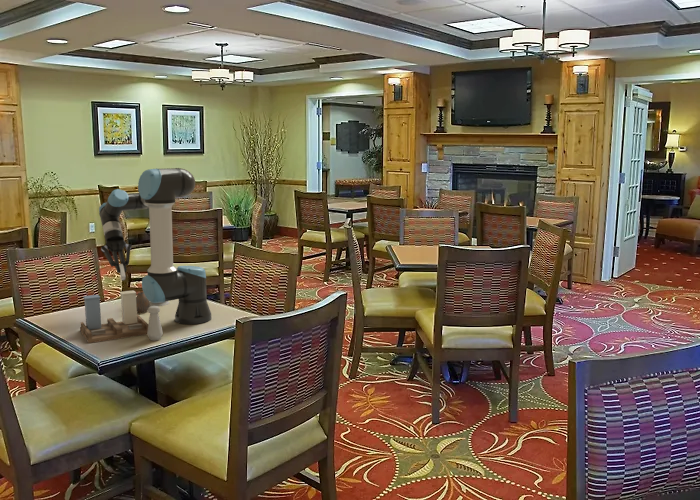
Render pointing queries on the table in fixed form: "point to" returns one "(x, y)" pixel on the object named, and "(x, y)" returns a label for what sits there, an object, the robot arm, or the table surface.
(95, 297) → the blue-grey rectangular block
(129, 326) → the wooden divided tray
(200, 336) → the table surface
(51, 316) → the table surface
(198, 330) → the table surface
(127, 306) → the cream tall block
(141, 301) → the vase
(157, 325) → the salt shaker
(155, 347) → the table surface
